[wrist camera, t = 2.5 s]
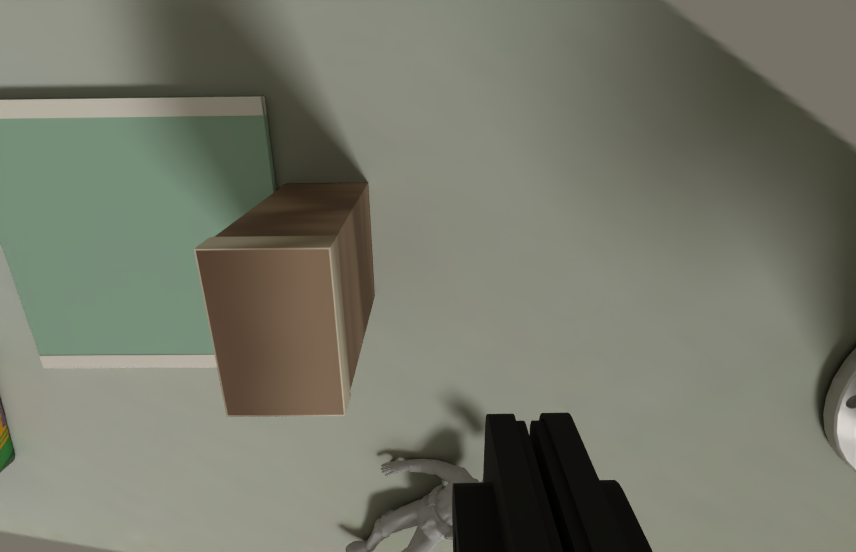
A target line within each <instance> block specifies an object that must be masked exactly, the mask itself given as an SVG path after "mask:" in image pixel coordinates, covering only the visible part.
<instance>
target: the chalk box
mask: <svg viewBox="0 0 856 552" xmlns="http://www.w3.org/2000/svg"><path fill="white" fill-rule="evenodd" d="M14 459H15V453H14V451H13V447H12V443H11V439H10V436H9V433H8V428H7V425H6V420H5V416H4V413H3V409H2V405H1V402H0V472H1V471H2V470H3V469H5V468H6V467H7V466H8V465H9V464H11V463H12V462H13V461H14Z"/></svg>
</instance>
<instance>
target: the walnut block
mask: <svg viewBox="0 0 856 552" xmlns="http://www.w3.org/2000/svg"><path fill="white" fill-rule="evenodd" d="M194 253H195V258H196V263H197V268H198V273H199V278H200V283H201V288H202V294H203V299H204V304H205V309H206V314H207V319H208V324H209V329H210V334H211V339H212V344H213V349H214V354H215V359H216V364H217V369H218V374H219V380H220V385H221V390H222V395H223V400H224V405H225V410H226V415H227V417H244V416H346V412H347V408H348V404H349V400H350V396H351V392H350V389H351V385H352V382H353V378H354V374H355V370H356V366H357V362H358V358H359V354H360V351H361V347H362V343H363V339H364V335H365V331H366V327H367V324H368V320H369V316H370V312H371V308H372V304H373V300H374V296H375V292H374V274H373V257H372V239H371V221H370V204H369V186H368V183H286V184H285V185H283V186H282V187H281V188H279V189H278V190H277V191H275V192H274V193H273V194H271V195H270V196H268V197H267V198H266V199H264V200H263V201H262V202H260V203H259V204H258V205H256V206H255V207H254V208H252V209H251V210H250V211H248V212H247V213H246V214H244V215H243V216H242V217H240V218H239V219H237V220H236V221H235V222H233V223H232V224H231V225H229V226H228V227H227V228H225V229H224V230H223V231H221V232H220V233H219V234H217V235H216V236H215V237H209V238H208V239H207V240H205V241H204V242H203V243H201V244H200V245H198V246H197V247H196V248H194Z"/></svg>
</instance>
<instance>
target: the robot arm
mask: <svg viewBox="0 0 856 552" xmlns="http://www.w3.org/2000/svg"><path fill="white" fill-rule="evenodd" d="M823 418H824V430H825V433H826V436H827V438H828V441H829V444H830V445H831V447H832V448H833V449H834V451H835V452H836V454H837V455H838V456H839V457H840V458H841V459H842V460H843V461H844V462H845V463H846V464H848V465H849V466H850V467H851V468H852V469H853V470H854V471H855V472H856V348H855V349H854V350H853V351H852V353H851V354H850V355H849V356H848V357H847V358H846V359H845V361H844V362H843V364H842V365H841V367H840V369H839V370H838V372H837V373H836V375H835V377H834V378H833V381H832V383H831V386H830V388H829V391H828V393H827V396H826V400H825V406H824V412H823ZM452 530H453V552H652V549H651V547H650V545H649V543H648V541H647V539H646V537H645V535H644V533H643V531H642V529H641V527H640V525H639V522H638V520H637V518H636V516H635V514H634V512H633V510H632V508H631V506H630V504H629V502H628V500H627V498H626V495H625V493H624V491H623V489H622V488H621V486H620V484H619V483H618V482H617V481H615V480H599V479H598V476H597V474H596V472H595V469H594V467H593V465H592V463H591V460H590V458H589V456H588V453H587V451H586V449H585V446H584V444H583V442H582V440H581V437H580V435H579V433H578V430H577V428H576V426H575V423H574V421H573V419H572V417H571V415H570V414H569V413H542V414H541V415H540V418H539V421H531V425H530V435H529V434H528V430H527V427H526V424H525V422H524V421H516V419H515V416H514V414H487V415H486V423H485V449H484V474H483V483H453V486H452Z"/></svg>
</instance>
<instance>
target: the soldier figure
mask: <svg viewBox="0 0 856 552" xmlns="http://www.w3.org/2000/svg"><path fill="white" fill-rule="evenodd" d="M386 465H388V466H386ZM381 466H382V468H381V470H383V469H387V468H390V469H387V470H384V471H382V473H385V472H389V473H387V474H385V476H388V475H391V474H394V473H398V472H401V471H404V470H408V472H419V473H421V472H422V473H425V474H435V475H438V476H439V477H441V478H442V479H444V480H445V481H447V482H448V484H447V486H444V487H443V485H439V486H436V487H434V489H433V490H432V491H431V492H430V493H429V494H428V495H425V496H424V497H423V498H422V499H419V500H416V501H414V502H412V503H409V504H407V505H405V506H402V507H400V508H398V509H397V510H395V511H394V512H392V513H391V514H389V515H385V514H383V515H382V517H381V518H378V519H377V520H376V522H375V523H374V529H373V532H372V534H371V535H370V537H369V539H368V540H363V541H354V542H352V543H350V544H349V545H348V546H347V547H346V552H371V551H373V550H374V549H375V548H376V546H377V545H378V543H379V542H380V541H381V540H383V539H384V538H386V537H389V535H390V534H391V533H394V532H398V531H401V530H403V529H406V528H410V527H414V526H418V527H417V530H416V532H415V534H414V536H413V538H412V540H411V541H410V543H409V545H408V547H407V548H405V549H404V550H403V551H402V552H430V551H431V550H432V549H433V548H434V547H435V545H436V544H437V543H438V542H439V541H442V540H445V539H453V530H452V486H453V483H483V480H482V482H478V480H477V479H474V478H473V477H472V476H471V475H470V474H469V473H468V471H467V470H466V469H465V468H461V467H459V466H456V465H452V464H449V463H447V462H442V461H440V460H437V459H435V460H434V459H411V460H410V459H407V461H392V462H387V463H384V464H382V465H381ZM383 466H385V467H383ZM390 471H391V472H390ZM442 489H443V490H442Z"/></svg>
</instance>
